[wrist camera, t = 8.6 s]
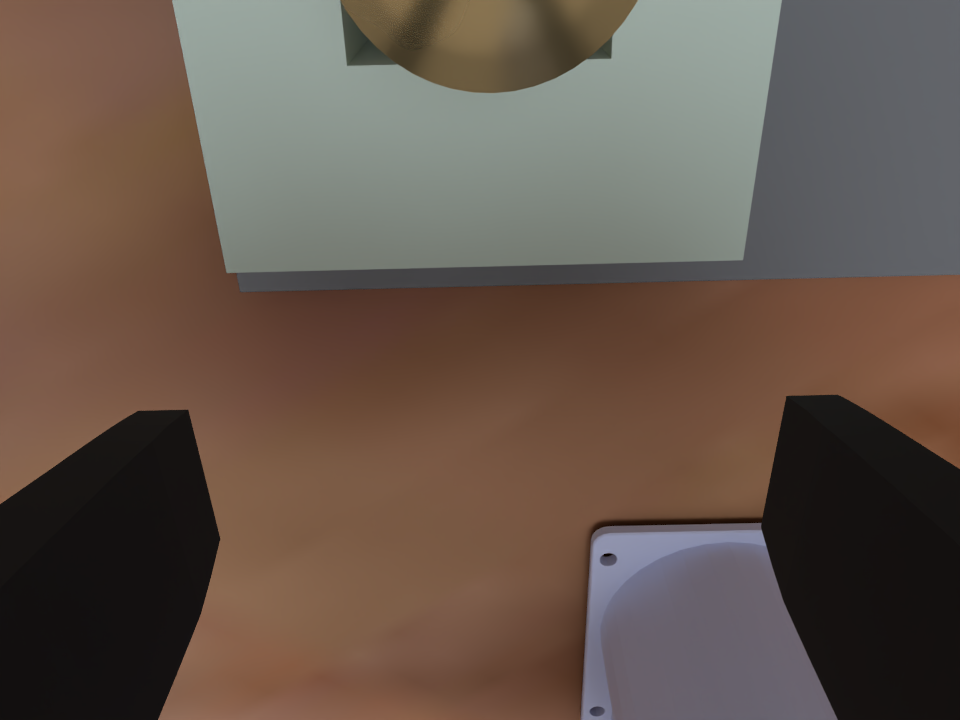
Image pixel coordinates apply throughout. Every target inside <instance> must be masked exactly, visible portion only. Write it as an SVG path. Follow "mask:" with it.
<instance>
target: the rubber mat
mask: <svg viewBox="0 0 960 720" xmlns="http://www.w3.org/2000/svg"><path fill="white" fill-rule="evenodd" d="M920 275H960V0H782V3H781V9H780V16H779V23H778V30H777V36H776V43H775V50H774V56H773V63H772V70H771V76H770V83H769V90H768V96H767V103H766V110H765V116H764V123H763V130H762V137H761V143H760V150H759V157H758V163H757V170H756V177H755V183H754V190H753V197H752V203H751V210H750V217H749V223H748V230H747V237H746V244H745V250H744V257H743V260H732V261H692V262H651V263H610V264H570V265H529V266H489V267H448V268H408V269H367V270H327V271H286V272H246V273H237V278H238V284H239V289H240V292H265V291H306V290H347V289H388V288H429V287H470V286H511V285H551V284H592V283H633V282H674V281H715V280H756V279H797V278H838V277H879V276H920Z"/></svg>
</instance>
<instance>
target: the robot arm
mask: <svg viewBox="0 0 960 720" xmlns="http://www.w3.org/2000/svg"><path fill="white" fill-rule="evenodd" d="M219 541H220V536H219V532H218V528H217V524H216V520H215V516H214V512H213V508H212V504H211V500H210V496H209V492H208V488H207V484H206V480H205V476H204V472H203V468H202V464H201V459H200V455H199V451H198V447H197V443H196V439H195V435H194V431H193V427H192V423H191V419H190V415H189V411H188V410H158V411H137V412H136V413H134V414H132V415H130V416H129V417H127V418H125V419H124V420H122V421H120V422H119V423H117V424H116V425H114V426H113V427H111V428H110V429H108V430H107V431H105V432H104V433H102V434H101V435H99V436H98V437H96V438H95V439H93V440H92V441H90V442H89V443H88V444H86V445H85V446H83V447H82V448H80V449H79V450H77V451H76V452H75V453H73V454H72V455H70V456H69V457H67V458H66V459H65V460H63V461H62V462H60V463H59V464H58V465H56V466H55V467H53V468H52V469H50V470H49V471H47V472H46V473H45V474H43V475H42V476H40V477H39V478H37V479H36V480H35V481H33V482H32V483H30V484H29V485H27V486H26V487H24V488H23V489H22V490H20V491H19V492H17V493H16V494H14V495H13V496H11V497H10V498H9V499H7V500H6V501H4V502H3V503H1V504H0V720H158V718H159V716H160V713H161V711H162V708H163V706H164V704H165V701H166V699H167V696H168V694H169V692H170V689H171V687H172V684H173V682H174V679H175V677H176V675H177V672H178V670H179V667H180V665H181V662H182V660H183V657H184V655H185V652H186V650H187V647H188V645H189V642H190V640H191V637H192V635H193V632H194V630H195V627H196V625H197V622H198V620H199V617H200V614H201V611H202V608H203V604H204V600H205V597H206V593H207V590H208V586H209V582H210V579H211V574H212V570H213V566H214V562H215V558H216V554H217V550H218V546H219ZM607 553H612V554H613V555H611V556H608V557H604V556H602V555H604V554H607ZM580 720H960V469H959V468H957V467H955V466H954V465H952V464H951V463H949V462H947V461H946V460H944V459H943V458H941V457H940V456H938V455H936V454H935V453H933V452H932V451H930V450H928V449H927V448H925V447H924V446H922V445H921V444H919V443H917V442H916V441H914V440H913V439H911V438H910V437H908V436H906V435H905V434H903V433H902V432H900V431H899V430H897V429H895V428H894V427H892V426H891V425H889V424H887V423H886V422H884V421H883V420H881V419H879V418H878V417H876V416H875V415H873V414H871V413H870V412H868V411H866V410H865V409H863V408H861V407H859V406H858V405H856V404H854V403H852V402H851V401H849V400H847V399H845V398H843V397H841V396H839V395H811V396H786V402H785V407H784V412H783V417H782V422H781V427H780V432H779V437H778V442H777V447H776V452H775V457H774V463H773V468H772V473H771V478H770V483H769V488H768V493H767V498H766V503H765V508H764V513H763V518H762V523H737V524H690V525H643V526H607V527H602V528H600V529H598V530H596V531H595V532H594V533H593V535H592V538H591V548H590V565H589V582H588V599H587V617H586V634H585V651H584V668H583V685H582V702H581V719H580Z"/></svg>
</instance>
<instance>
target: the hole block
mask: <svg viewBox="0 0 960 720" xmlns="http://www.w3.org/2000/svg"><path fill="white" fill-rule="evenodd" d="M172 1H173V6H174V11H175V16H176V21H177V26H178V32H179V37H180V42H181V47H182V52H183V57H184V62H185V67H186V72H187V77H188V82H189V87H190V92H191V97H192V102H193V107H194V112H195V117H196V122H197V127H198V132H199V137H200V142H201V147H202V152H203V157H204V162H205V167H206V172H207V177H208V182H209V187H210V192H211V197H212V202H213V207H214V212H215V217H216V222H217V227H218V232H219V237H220V242H221V247H222V252H223V257H224V262H225V267H226V273H246V272H286V271H327V270H367V269H408V268H448V267H489V266H529V265H570V264H610V263H651V262H692V261H732V260H743V257H744V250H745V244H746V237H747V230H748V223H749V217H750V210H751V203H752V197H753V190H754V183H755V177H756V170H757V163H758V157H759V150H760V143H761V137H762V130H763V123H764V116H765V110H766V103H767V96H768V90H769V83H770V76H771V70H772V63H773V56H774V50H775V43H776V36H777V30H778V23H779V16H780V9H781V3H782V0H638V1H637V3H636V4H635V6H634V8H633V9H632V11H631V12H630V14H629V15H628V17H627V18H626V20H625V21H624V22H623V24H622V25H621V26H620V27H619V28H618V29H617V31H616V32H615V33H614V34H613V35H612V37H611V38H610V39H609V40H608V41H607V42H606V43H605V44H604V45H603V46H601V47H600V48H599V49H598V50H597V51H596V52H595V53H594V54H593V55H592V56H590V57H589V58H587V59H586V60H585V61H583V62H582V63H580V64H579V65H578V66H576V67H575V68H573V69H572V70H570V71H568V72H566V73H564V74H562V75H560V76H559V77H557V78H555V79H552V80H550V81H547V82H545V83H542V84H539V85H537V86H534V87H530V88H525V89H521V90H517V91H511V92H501V93H473V92H467V91H461V90H455V89H451V88H447V87H444V86H441V85H438V84H435V83H432V82H430V81H427V80H425V79H423V78H421V77H419V76H417V75H415V74H412V73H411V72H409V71H408V70H406V69H405V68H403V67H401V66H400V65H398V64H397V63H395V62H394V61H392V60H391V59H390V58H389V57H388V56H386V55H385V54H384V53H383V52H382V51H380V50H379V49H378V48H377V47H376V46H375V45H374V44H373V43H372V42H371V41H370V40H369V39H368V38H367V37H366V36H365V35H364V33H363V32H362V31H361V30H360V29H359V28H358V26H357V25H356V23H355V22H354V21H353V19H352V18H351V17H350V15H349V14H348V13H347V11H346V9H345V8H344V6H343V4H342V2H341V1H340V0H172Z"/></svg>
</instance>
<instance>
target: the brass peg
mask: <svg viewBox="0 0 960 720" xmlns="http://www.w3.org/2000/svg"><path fill="white" fill-rule="evenodd" d="M340 1H341V2H342V4H343V6H344V8H345V9H346V11H347V13H348V14H349V15H350V17H351V18H352V19H353V21H354V22H355V23H356V25H357V26H358V28H359V29H360V30H361V31H362V32H363V33H364V35H365V36H366V37H367V38H368V39H369V40H370V41H371V42H372V43H373V44H374V45H375V46H376V47H377V48H378V49H379V50H380V51H382V52H383V53H384V54H385V55H386V56H388V57H389V58H390V59H391V60H392V61H394V62H395V63H397V64H398V65H400V66H401V67H403V68H405V69H406V70H408V71H409V72H411V73H412V74H415V75H417V76H419V77H421V78H423V79H425V80H427V81H430V82H432V83H435V84H438V85H441V86H444V87H447V88H451V89H455V90H461V91H467V92H473V93H501V92H511V91H517V90H521V89H525V88H530V87H534V86H537V85H539V84H542V83H545V82H547V81H550V80H552V79H555V78H557V77H559V76H560V75H562V74H564V73H566V72H568V71H570V70H572V69H573V68H575V67H576V66H578V65H579V64H580V63H582V62H583V61H585V60H586V59H587V58H589V57H590V56H592V55H593V54H594V53H595V52H596V51H597V50H598V49H599V48H600V47H601V46H603V45H604V44H605V43H606V42H607V41H608V40H609V39H610V38H611V37H612V35H613V34H614V33H615V32H616V31H617V29H618V28H619V27H620V26H621V25H622V24H623V22H624V21H625V20H626V18H627V17H628V15H629V14H630V12H631V11H632V9H633V8H634V6H635V4H636V3H637V1H638V0H340Z"/></svg>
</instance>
